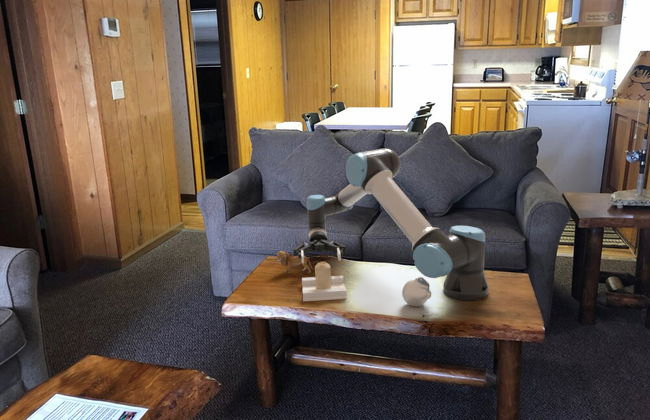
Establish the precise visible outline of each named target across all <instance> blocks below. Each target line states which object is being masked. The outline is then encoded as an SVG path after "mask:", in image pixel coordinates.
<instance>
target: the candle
mask: <svg viewBox="0 0 650 420" xmlns="http://www.w3.org/2000/svg"><path fill="white" fill-rule="evenodd" d="M314 269H315V270H314V275H315V276H314V277H315V280H316V289H331V276H332V271H331V265H330V264H329V263H327V262H326V261H320V262H317V263H316V265H315V266H314Z"/></svg>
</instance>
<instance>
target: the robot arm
mask: <svg viewBox="0 0 650 420" xmlns="http://www.w3.org/2000/svg"><path fill="white" fill-rule="evenodd" d="M401 165H402V163H401V159H400V157H399V155H398V153H396V151H394V150H392V149H390V148H386V147H383V148H381V147H380V148H376V149H373V150H372V149H371V150H367V151H359V152H357V153H353V154H352V155H350V156H349V158H348V159H347V160H346V164H345V176H346V179H347V181H348V183H349V184H348V185H346V186H345V187H344V188H343V189H342V190H340V191H339V192H338V193H337V194H336V195H332V196H329V197H325V196H324V195H323V194H313V195H309V196H307V199H306V210H307V211H306V213H307V234H308V243H307V242H305V241H301V243H300V244H299V245H298V246H296V247H295V248H294V249H293V256H298V258H302V263H304V256H306V254H309V253H313V252H322V251H326V252H332V253H335V254H336V256H337V260H338V262H341V261H342V260H341V259H342V256H343V254H347V246H346V245H344V244H342V243H340V242H338V241H337V240H336V239H333V240H332V241H329V240H328V239H329V238H328V235H327V224H326V221H327V220H326V218H327V216H332V215H336V214H339V213H343V212H347V211H349V210H351V209H353V207H354V206H355V203H357V202H358V201H359V200H361V199H362V198H363V197H365V196H366V195H372V196H373V197H375V199H376V201H377V202H378V203H379V204H380V205H381V206H382V208H383V209H384V210H385V211H386V212H387V214H388V215H389V216H390V217H391V219H392V220H393V221H394V222H395V224H396V225H397V226H398V228H399V229H400V230H401V231H402V232H403V234H404V235H405V236H406V237H407V239H408V240H409V241H410V243H412V245H411V246H412V247H411V251H412V252H413V254H412V259H413V260H414V262H413V263H414V266H415V267H416V269H417V270H418V272H419V273H420V274H421V275H423V276H425V277H426V278H430V279H437V278H442V277H445V280H444V282H443V285H442V286H443V287H442V288H443V289H442V291H443V293H444V294H445V295H446V296H448V297H450V298H453V299H455V300H460V301H461V300H462V301H477V300H482V299H484V298H486V297H487V296H488V295H489V283H488V281H487V278H486V274H485V254H486V253H485V252H486V242H487V241H486V234H485V232H484V230H482V229H481V228H479V227H475V226H474V227H473V226H469V225H454V226H451V227H450V229H449V231H448V232H449V235H446V234H445V233H444V232H443V231H442V229H440V227H433V226H432V224H431V223H430V222H429V221H428V220H427V219H426V218H425V216H424V215H423V214H422V213H421V212H420V210H419V209H418V208H417V207H416V206H415V205H414V203H413V202H412V201H411V200H410V198H409V197H408V196H407V195H406V194H405V192H404V191H403V190H402V189H401V188H400V187H399V186H398V185H397V183H396V182H395V181H394V180H393V179H394V178H395V177H396V176H397V175H398V174H399V172H400V170H401V167H402V166H401Z"/></svg>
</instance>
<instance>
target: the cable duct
mask: <svg viewBox="0 0 650 420" xmlns="http://www.w3.org/2000/svg"><path fill="white" fill-rule="evenodd" d="M301 285H302V302H312V301H313V302H315V301H316V302H317V301H329V300H331V301H332V300H345V299H347V298H348V297H347V295H348V294H347V293H348V292H347V288H346V287H345V284H344V275H331V289H316V280H315V276H311V277H309V276H308V277H301Z"/></svg>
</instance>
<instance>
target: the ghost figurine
mask: <svg viewBox="0 0 650 420" xmlns="http://www.w3.org/2000/svg"><path fill="white" fill-rule="evenodd" d="M430 289H431V288H430V283H429V282H428V281H427V280H426V279H425V278H424V277H422V276H417V277H416V278H413V279H410V280H408V281H407V282H405V283H404V285H403V287H402V291H401V296H402V298H403V300H404V302H405V303H406V304H407V305H409V306H411V307H421V306H423V305H424V304H426V303H427V301H428V300H430V299H431V298H432V292H431V290H430Z"/></svg>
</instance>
